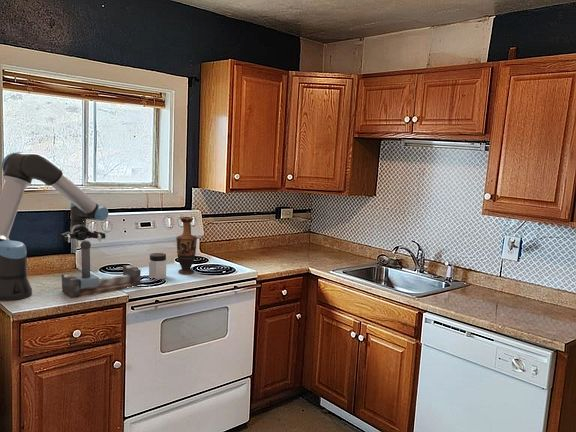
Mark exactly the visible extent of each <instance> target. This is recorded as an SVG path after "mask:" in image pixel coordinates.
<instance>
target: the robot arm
mask: <svg viewBox="0 0 576 432" xmlns="http://www.w3.org/2000/svg"><path fill="white" fill-rule="evenodd" d="M1 169H2V172H3V175H2V178H3V180H4V184H3V185H2V189H1V191H0V301H3V302H5V301H16V300H21V299H26V298H28V297H30V296H32V294H33V288H32V286H31V283H30V281H29V279H28V269H27V267H28V266H27V265H28V261H27V259H28V258H27V253H28V251H27V246H26V244H24V243H23V242H21V241H19V240H11V239H10V238H9V237H10V234H11V230H12V228H13V225H14V222H15V219H16V217H17V216H16V215H17V213H18V210H19V208H20V205H21V202H22V199H23V196H24V194H25V193H24V192H25V190H26V188H27V187H30V186H31V184H32V181H33V180H37V181H40V182H42V183H44V184H45V186H50V187H52V188H53V189H55V190H56V191H57V192H58V193H59V194H61V196H63V197H64V198H66V199H67V200H68V201H69V202H70V225H69V226H70V227H69V231H66V232H63V233H61V234H60V238H59V239H60V240H61V241H64V242H68V244H69V243H71V240H72V239H73V240H74V239H75V240H77V241H81V242H82V241H84V240H87V239H97V240H98V242H102V240H105V239H106V233H104V232H102V231H96V230H94V231H93V232H92V231H90V230H89V229H88V227H87V220H91V221H97V222H99V221H100V222H102V221H105V220H107V219H108V217H109V210H108V208H107V207H106V206H103V205H99V204H98V203H97V202H96V201H94V199H93V198H92V197H90V196H89V195H88V194H86V193H85V192H84V191H83V190H82V189H81V188H80V187H78V185H76V184H75V183H74V182H73V181H72V180H71V179H70V178H68V177H67V176H66V175H65V174H64V172H63V170H62V169H61V167H59V166H58V165H57V164H56V163H55V162H54V161H51V160H50V159H49V158H48V157H46V156H45V155H42V154H39V153H31V152H30V153H29V152H21V151H19V152H18V151H17V152H11V153H9V154H7V155H6V156H5V157H4V158H3V159H2V161H1ZM83 221H84V222H83Z"/></svg>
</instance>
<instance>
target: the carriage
mask: <svg viewBox="0 0 576 432" xmlns="http://www.w3.org/2000/svg"><path fill="white" fill-rule="evenodd" d="M79 246H80V249H81V258H80V259H81V274H78V275H76V278H78V279H79V284H80V288H81V289H82V288H88V287H94V286H99V279H100V278H99V277H98V276H96V275H94V274H92V273H91V247H92V243H91V241H89V240H87V239H85V240H82V241H81V242H80V245H79Z"/></svg>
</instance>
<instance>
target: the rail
mask: <svg viewBox="0 0 576 432" xmlns="http://www.w3.org/2000/svg"><path fill="white" fill-rule="evenodd" d="M122 273H123V274H122V275H117V276H110V277H103V278H99V286H94V287H88V288H82V289H81V288H80V284H79V279H78V278H76V276H77V274H76V273H63V274H61V292H62V293H64V294H65V295H66V296H68V297H70V298H71V299H74V298H81V297H86V296H92V295H97V294H104V293H109V292H114V291H120V290H124V289H123V288H127V287H132V286H137V285H140V286H141V269H139V268H138V266H137V265H132V264H131V265H130V264H126V265H123V266H122ZM127 289H128V288H127Z"/></svg>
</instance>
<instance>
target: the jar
mask: <svg viewBox="0 0 576 432" xmlns="http://www.w3.org/2000/svg"><path fill="white" fill-rule="evenodd" d="M149 277H151V278H155V279H157V280H164V279H165V278H166V277H167V255H166V253H163V252H153V253H150V254H149V259H148V278H149ZM155 279H154V280H155Z"/></svg>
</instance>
